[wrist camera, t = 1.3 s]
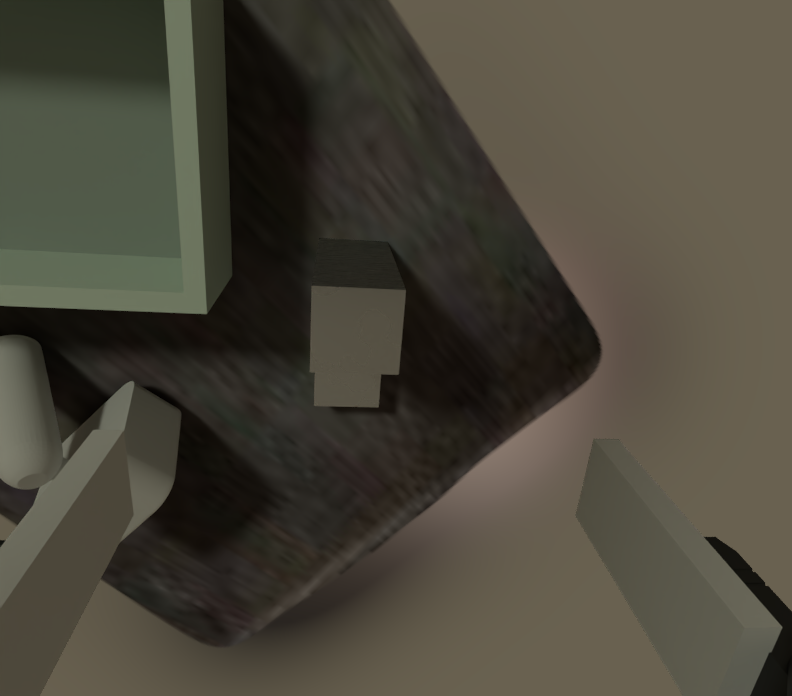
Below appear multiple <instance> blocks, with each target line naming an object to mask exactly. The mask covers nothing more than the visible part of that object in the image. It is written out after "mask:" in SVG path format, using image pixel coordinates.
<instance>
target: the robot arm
mask: <svg viewBox="0 0 792 696" xmlns="http://www.w3.org/2000/svg"><path fill="white" fill-rule="evenodd" d="M133 515H134V513H133V504H132V496H131V487H130V479H129V470H128V462H127V453H126V445H125V436H124V430H93V431H92V432H91V433H90V435H89V436H88V437H87V438H86V440H85V441H84V442H83V443H82V445H81V446H80V447H79V449H78V450H77V451H76V452H75V454H74V455H73V456H72V457H71V459H70V460H69V461H68V462H67V464H66V465H65V466H64V467H63V469H62V470H61V471H60V473H59V474H58V475H57V476H56V478H55V479H54V480H53V481H52V483H51V484H50V485H49V486H48V488H47V489H46V490H45V491H44V493H43V494H42V495H41V497H40V498H39V499H38V500H37V502H36V503H35V504H34V505H33V507H32V508H31V509H30V510H29V512H28V513H27V514H26V515H25V517H24V518H23V519H22V521H21V522H20V523H19V524H18V526H17V527H16V528H15V529H14V531H13V532H12V533H11V534H10V536H9V537H8V538H7V540H5V541H4V540H3V541H2V540H0V696H40V694H41V692H42V690H43V689H44V687H45V685H46V683H47V681H48V679H49V677H50V675H51V673H52V671H53V669H54V667H55V665H56V664H57V662H58V660H59V658H60V656H61V654H62V652H63V650H64V648H65V646H66V644H67V642H68V640H69V638H70V637H71V635H72V633H73V630H74V629H75V627H76V625H77V623H78V621H79V619H80V617H81V615H82V613H83V612H84V609H85V608H86V606H87V604H88V602H89V600H90V598H91V596H92V594H93V592H94V590H95V588H96V586H97V584H98V583H99V581H100V579H101V577H102V575H103V573H104V571H105V569H106V567H107V565H108V563H109V562H110V560H111V558H112V556H113V554H114V552H115V550H116V548H117V546H118V544H119V542H120V540H121V538H122V537H123V535H124V533H125V531H126V529H127V527H128V525H129V523H130V521H131V519H132V517H133ZM576 517H577V519H578V521H579V522H580V524H581V526H582V527H583V529H584V531H585V532H586V534H587V536H588V538H589V539H590V541H591V543H592V544H593V546H594V548H595V549H596V551H597V553H598V554H599V556H600V558H601V559H602V561H603V563H604V564H605V566H606V568H607V569H608V571H609V573H610V575H611V576H612V578H613V579H614V581H615V583H616V585H617V586H618V588H619V590H620V591H621V593H622V595H623V596H624V598H625V600H626V601H627V603H628V605H629V606H630V608H631V610H632V611H633V613H634V615H635V616H636V618H637V620H638V621H639V623H640V625H641V626H642V628H643V630H644V632H645V633H646V635H647V637H648V638H649V640H650V642H651V643H652V645H653V647H654V648H655V650H656V652H657V653H658V655H659V657H660V658H661V660H662V662H663V663H664V665H665V667H666V668H667V670H668V672H669V674H670V675H671V677H672V678H673V680H674V682H675V683H676V685H677V687H678V689H679V690H680V692H681V693H682V695H683V696H792V611H791V610H790V609H789V608H788V607H787V606H786V605H785V604H784V603H783V602H782V601H781V600H780V598H779V597H778V596H777V595H776V594H775V593H774V592H773V591H772V590H771V589H770V588H769V587H768V586H765V582H764V581H763V580H762V579H761V578H760V577H759V576H758V574H757V573H756V572H753V571H752V568H751V567H750V566H749V565H748V564H747V563H746V561H745V560H744V559H743V558H742V557H741V556H740V555H739V554H738V553H737V552H736V551H735V550H733V549H732V548H730V547H729V546H728V545H726V544H725V543H723V542H722V541H720V540H719V539H717V538H716V537H703V536H702V535H701V533H700V532H699V531H698V530H697V529H696V528H695V526H694V525H693V524H692V523H691V522H690V521H689V520H688V518H687V517H686V516H685V515H684V514H683V513H682V512H681V510H680V509H679V508H678V507H677V506H676V505H675V503H674V502H673V501H672V500H671V499H670V498H669V497H668V496H667V494H666V493H665V492H664V491H663V490H662V489H661V487H660V486H659V485H658V484H657V483H656V482H655V481H654V480H653V478H652V477H651V476H650V475H649V474H648V473H647V471H646V470H645V469H644V468H643V467H642V466H641V465H640V463H638V461H637V460H636V459H635V458H634V457H633V456H632V454H631V453H630V452H629V451H628V450H627V449H626V447H625V446H624V445H623V444H622V443H621V442H620V440H618V439H594V440H593V444H592V449H591V453H590V457H589V462H588V465H587V470H586V474H585V478H584V482H583V487H582V491H581V495H580V499H579V503H578V507H577V512H576Z"/></svg>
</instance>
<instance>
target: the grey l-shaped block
mask: <svg viewBox="0 0 792 696" xmlns="http://www.w3.org/2000/svg"><path fill="white" fill-rule="evenodd" d="M405 297H406V289H405V286H404V283H403V281H402V278H401V276H400V273H399V271H398V268H397V265H396V263H395V260H394V258H393V255H392V252H391V250H390V247H389V245H388V242H383V241H366V240H348V239H330V238H319V242H318V248H317V255H316V261H315V268H314V274H313V280H312V293H311V341H310V372H315V389H314V406H337V407H379V396H380V382H381V374H388V375H399V366H400V355H401V343H402V332H403V320H404V308H405Z"/></svg>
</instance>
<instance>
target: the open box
mask: <svg viewBox="0 0 792 696" xmlns="http://www.w3.org/2000/svg"><path fill="white" fill-rule="evenodd" d="M231 277H232V247H231V218H230V188H229V158H228V129H227V99H226V69H225V40H224V10H223V0H0V306H18V307H43V308H67V309H92V310H117V311H142V312H167V313H191V314H207V313H208V312H209V310H210V309H211V307H212V306H213V304H214V303H215V301H216V300H217V298H218V297H219V295H220V294H221V292H222V291H223V289H224V288H225V286H226V284H227V283H228V281H229V280H230V278H231Z"/></svg>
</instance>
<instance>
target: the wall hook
mask: <svg viewBox="0 0 792 696" xmlns="http://www.w3.org/2000/svg"><path fill="white" fill-rule="evenodd" d="M180 424H181V411H180V410H179V409H178V408H176V407H174V406H173V405H171V404H169V403H168V402H166V401H164V400H163V399H161V398H160V397H158V396H156V395H155V394H153V393H151V392H150V391H148V390H146V389H145V388H143V387H141V386H140V385H138V384H136V383H135V382H133V381H130V382H128V383H126V384H125V385H124V386H122V387H121V388H120V389H119V390H118V391H117V392H116V393H115V394H114V395H113V396H112V397H111V398H110V399H109V400H108V401H106V402H105V403H104V404H103V405H102V406H101V407H100V408H99V409H98V410H97V411H96V412H95V413H94V414H93V415H92V416H91V417H90V418H88V419H87V420H86V421H85V422H84V423H83V424H82V425H81V426H80V427H79V428H78V429H77V430H76V431H75V432H74V433H73V434H72V435H70V436H69V437H68V438H67V439H66V440H65V441H64V442H63V444H62V443H61V438H60V433H59V428H58V423H57V419H56V414H55V409H54V404H53V400H52V395H51V390H50V385H49V380H48V376H47V371H46V366H45V361H44V357H43V352H42V347H41V345H40V344H39V343H38V342H37V341H36V340H34V339H33V338H30V337H27V336H23V335H5V336H0V478H1V479H2V480H3V481H4V482H5V483H7V484H8V485H10V486H12V487H15V488H18V489H34V488H37V487H40V489H39V491H38V494H37V497H36V499H35V502H34V504H35V503H36V502H37V500H38V499H39V498H40V497H41V495H42V494H43V493H44V491H45V490H46V489H47V488H48V486H49V485H50V484H51V483H52V481H53V480H54V479H55V478H56V476H57V475H58V474H59V473H60V471H61V470H62V469H63V467H64V466H65V465H66V464H67V462H68V461H69V460H70V459H71V457H72V456H73V455H74V454H75V452H76V451H77V450H78V449H79V447H80V446H81V445H82V443H83V442H84V441H85V440H86V438H87V437H88V436H89V435H90V433H91V432H92V431H93V430H124V436H125V445H126V453H127V462H128V470H129V479H130V487H131V496H132V504H133V513H134V515H133V517H132V519H131V521H130V523H129V525H128V527H127V529H126V531H125V533H124V535H123V537H122V538H121V540H120V542H121V541H122V540H123V539H124V538H126V537H127V536H128V535H129V534H130V533H131V532H132V531H134V530H135V529H136V528H137V527H138V526H139V525H140V524H142V523H143V522H144V521H145V520H146V519H147V518H149V517H150V516H151V515H152V514H153V513H154V512H155V511H157V510H158V508H159V507H160V506H161V505H162V504H163V502H164V501H165V500H166V498H167V496H168V495H169V493H170V491H171V489H172V486H173V484H174V480H175V473H176V464H177V454H178V444H179V434H180ZM120 542H119V543H120Z"/></svg>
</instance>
